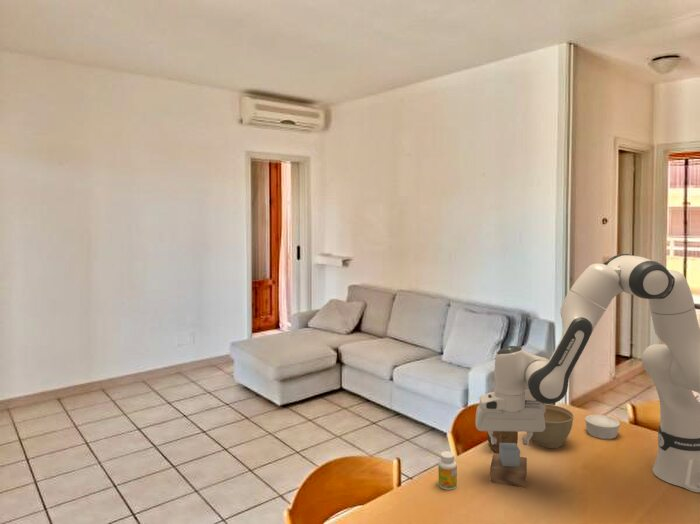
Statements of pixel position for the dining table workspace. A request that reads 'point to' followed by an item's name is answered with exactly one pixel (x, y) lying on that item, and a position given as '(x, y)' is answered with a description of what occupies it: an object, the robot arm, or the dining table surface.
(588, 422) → the ramekin
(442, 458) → the supplement bottle
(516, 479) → the walnut block
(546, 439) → the planter bowl
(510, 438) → the brown rounded block
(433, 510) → the dining table surface
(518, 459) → the slate cube
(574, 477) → the dining table surface
